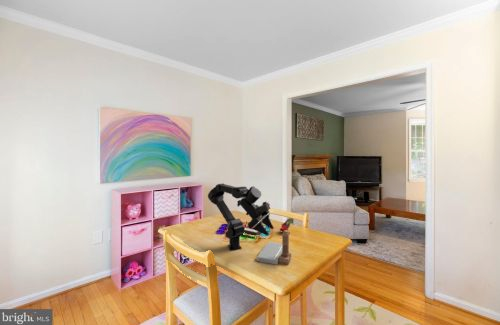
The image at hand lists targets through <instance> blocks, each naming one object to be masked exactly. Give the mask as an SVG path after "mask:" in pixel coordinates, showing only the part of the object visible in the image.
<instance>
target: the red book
mask: <svg viewBox="0 0 500 325" xmlns="http://www.w3.org/2000/svg"><path fill="white" fill-rule="evenodd" d="M263 226H264V225H263ZM244 228H245V229H244V232H245V233H247V234H251V235H260V234H261V232H258V231H256V230H252V229H253V228H254V227H253V228H251V229H250V228H249V227H248V226H246V227H244ZM264 228H265V229H266V228H267V229H268V226H266V225H265V226H264ZM260 236H261V235H260Z"/></svg>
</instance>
